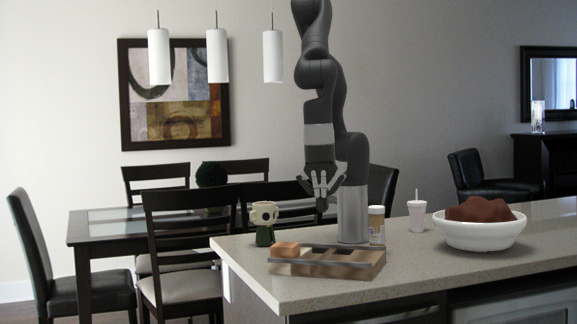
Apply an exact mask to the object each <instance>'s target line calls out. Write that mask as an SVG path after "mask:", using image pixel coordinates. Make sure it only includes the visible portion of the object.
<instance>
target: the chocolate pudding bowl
mask: <svg viewBox="0 0 577 324" xmlns="http://www.w3.org/2000/svg"><path fill="white" fill-rule="evenodd" d="M431 221H432V223H433V225H434V227H435V228H436V229H437V230H438V232H439V233H441V235H442V237H443V240H444V242H445V243H446V244H447V245H448V246H450V247H452V248H454V249H458V250H462V251H467V250H468V252H472V251H475V252H474V253H488V252H487V251H490V252H498V251H504V250H506V249H509V248H511V247H513V244H514V243H515V241H516V239H517V237H518V235H519V234H520V233H521V232H522V231H523V230H524V229H525V227H526V225H527V223H528V216H526V214H524V213H522V212H519V211H516V210H511V208H510V206H509V205H508V204H507V203H506V201H504V199H503V198H495V199H492V200H489V199H487V198H485V197H483V196H478V195H477V196H476V195H471V196H468V198H466V200H465V202H462V203H460V204H459V205H457V206H449V207H447V208H445V209H441V210H438V211H436V212H433V214H432V216H431Z"/></svg>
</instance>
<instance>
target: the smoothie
mask: <svg viewBox="0 0 577 324" xmlns="http://www.w3.org/2000/svg"><path fill="white" fill-rule="evenodd" d="M427 205H428V202H427V200H420V199H419V200H418V188H415V199H413V200H408V201H406V206H407V209H408V214H409V222H410V228H411V232H412V233H417V234H418V233H419V234H420V233H423V232H424V230H425V222H426V221H425V219H426V209H427Z"/></svg>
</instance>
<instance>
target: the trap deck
mask: <svg viewBox="0 0 577 324" xmlns="http://www.w3.org/2000/svg"><path fill="white" fill-rule="evenodd" d="M386 263H387V246H386V245H385V246H369V245H364V244H363V245H362V244H361V245H360V244H344V243H342V244H340V243H318V242H317V243H315V242H300V257H298V258H297V259H290V258H272V257H270V256H269V257H267V275H272V274H273V276H275V275H276V276H291V277H302V278H303V277H307V278H317V279H318V278H321V279H335V280H337V279H338V280H349V281H350V280H352V281H364V282H365V281H366V282H372V281H373V280H374V279H375V278H376V276H377V275H378V273H379V272H380V271H381V270H382V268H383V267H384V265H385V264H386Z"/></svg>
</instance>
